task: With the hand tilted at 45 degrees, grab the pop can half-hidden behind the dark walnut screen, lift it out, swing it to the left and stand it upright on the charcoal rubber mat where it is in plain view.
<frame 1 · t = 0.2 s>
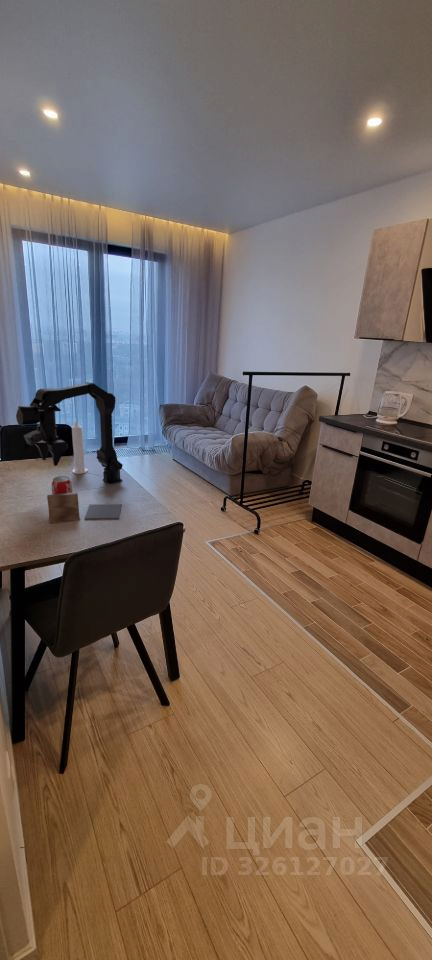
hand: (49, 462, 153), 14 cm above the table, tool pointing down, fingers open, 9 cm apart
soda can: (63, 508, 148), on the table
charcoal mat: (103, 512, 147), on the table
walnut screen: (64, 517, 141), on the table
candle: (80, 471, 187), on the table
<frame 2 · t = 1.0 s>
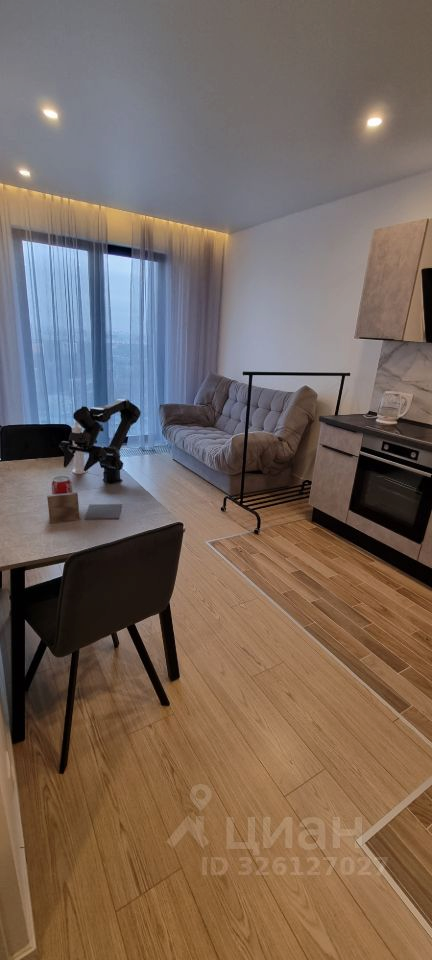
hand: (74, 469, 151), 13 cm above the table, tool tilted 45°, fingers open, 9 cm apart
nothing on the table moved.
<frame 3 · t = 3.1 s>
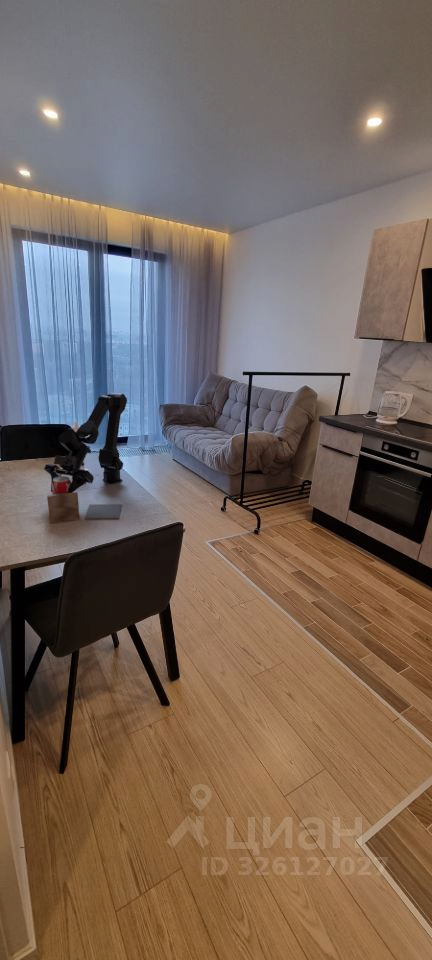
hand: (59, 493, 145), 7 cm above the table, tool tilted 45°, fingers closed on soda can, 7 cm apart
soda can: (63, 508, 148), on the table, touching gripper
everything else where it was.
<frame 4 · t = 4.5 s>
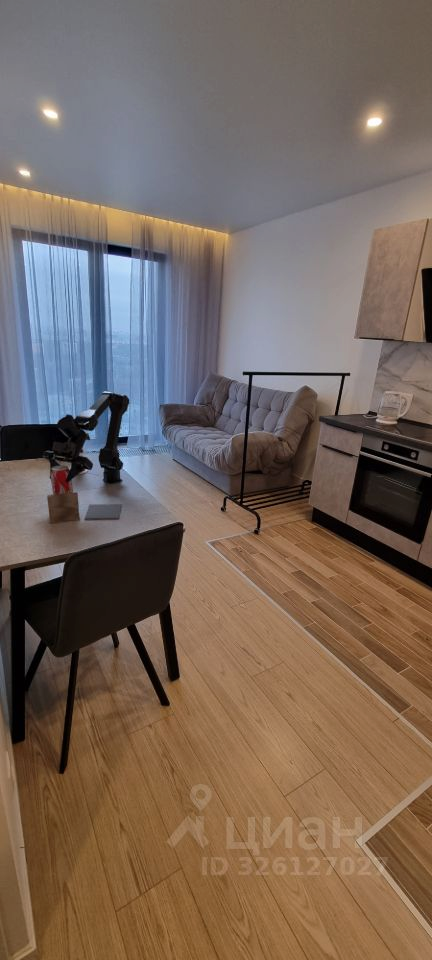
hand: (58, 480, 143), 12 cm above the table, tool tilted 45°, fingers closed on soda can, 7 cm apart
soda can: (63, 498, 147), point 4 cm above the table, touching gripper
everything else where it was.
when the fingers open (8 cm above the table, at t = 8.9 s): soda can stays where it is, resting on charcoal mat.
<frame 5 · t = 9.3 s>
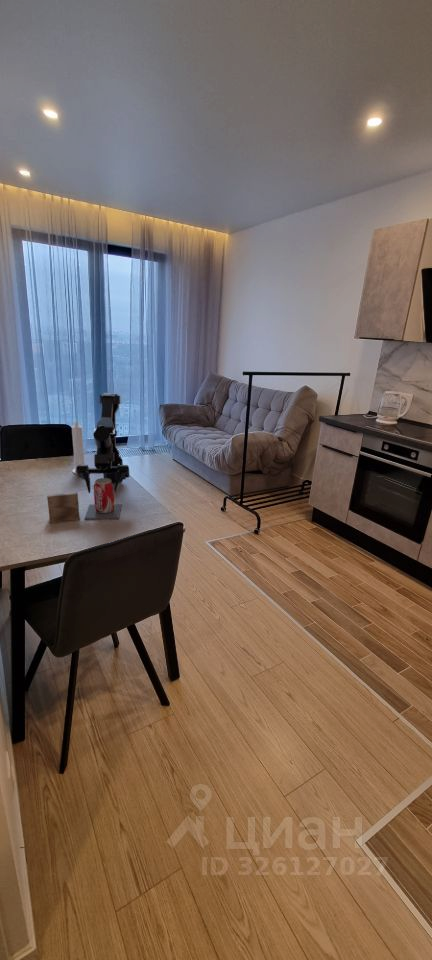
hand: (102, 492, 143), 9 cm above the table, tool tilted 45°, fingers open, 9 cm apart
soda can: (105, 511, 147), resting on charcoal mat
everything else where it was.
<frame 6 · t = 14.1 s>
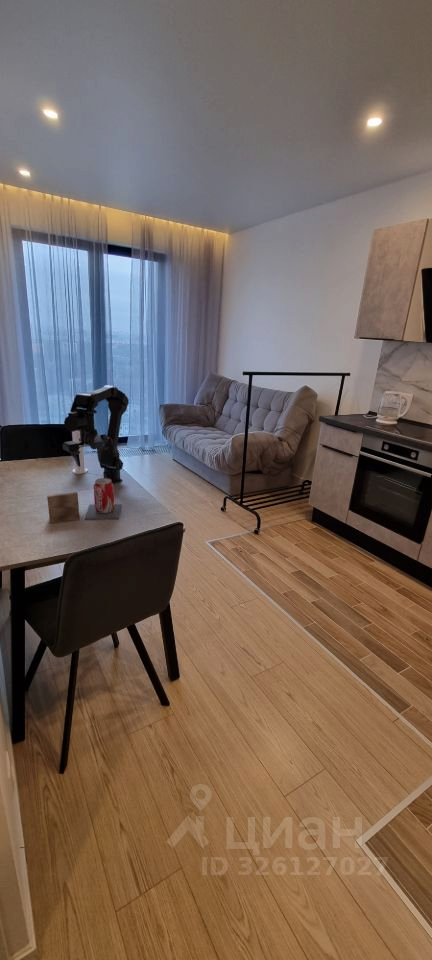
hand: (89, 464, 158), 13 cm above the table, tool pointing down, fingers open, 9 cm apart
nothing on the table moved.
at the end: soda can inside the target area on the charcoal mat (0.4 cm from its centre), point 0.4 cm above the charcoal mat's base; soda can tilted 0°; the gripper is holding nothing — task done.
